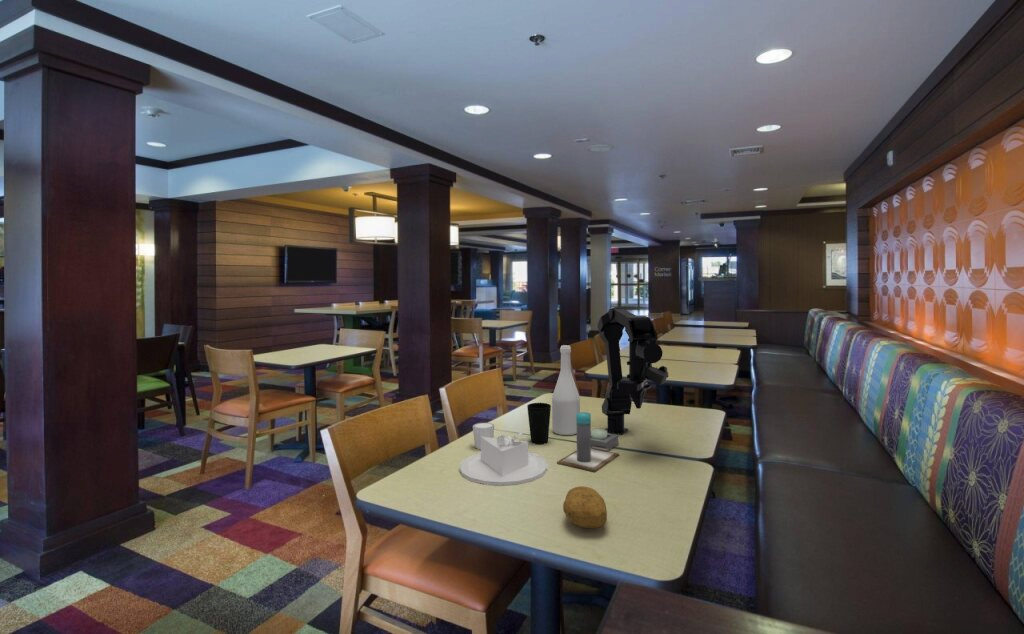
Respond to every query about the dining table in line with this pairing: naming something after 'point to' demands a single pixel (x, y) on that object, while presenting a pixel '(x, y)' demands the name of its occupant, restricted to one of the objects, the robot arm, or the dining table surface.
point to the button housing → (605, 442)
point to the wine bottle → (565, 398)
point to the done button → (599, 434)
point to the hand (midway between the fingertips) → (638, 408)
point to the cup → (539, 422)
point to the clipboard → (597, 459)
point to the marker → (583, 436)
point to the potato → (585, 507)
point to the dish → (503, 462)
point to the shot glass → (482, 432)
